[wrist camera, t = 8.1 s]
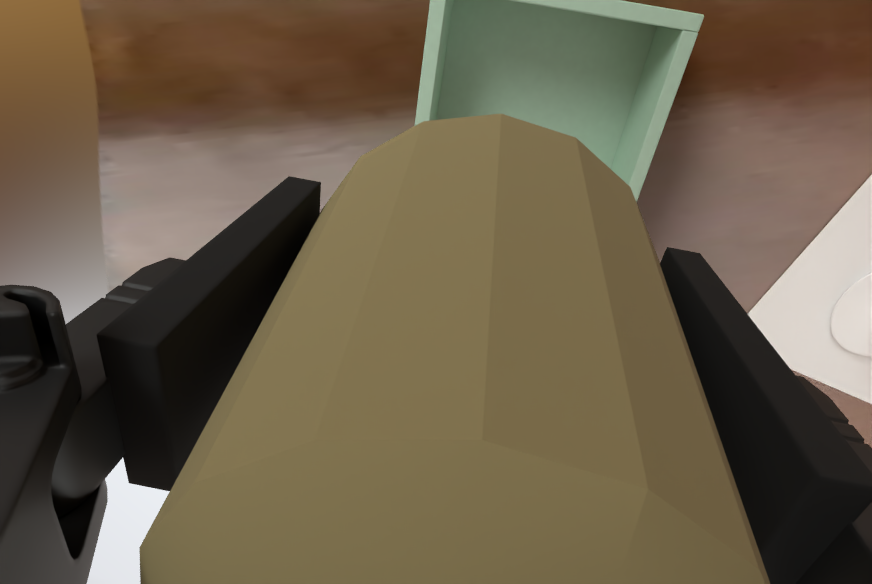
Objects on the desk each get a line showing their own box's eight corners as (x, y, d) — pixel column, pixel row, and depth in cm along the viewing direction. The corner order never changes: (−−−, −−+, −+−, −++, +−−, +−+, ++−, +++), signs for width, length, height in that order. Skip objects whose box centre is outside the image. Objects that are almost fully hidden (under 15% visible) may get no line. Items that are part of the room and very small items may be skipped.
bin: (444, -27, 30) (433, -32, 26) (672, 12, 30) (705, 14, 25) (415, 191, 37) (402, 219, 32) (601, 225, 37) (616, 259, 32)
